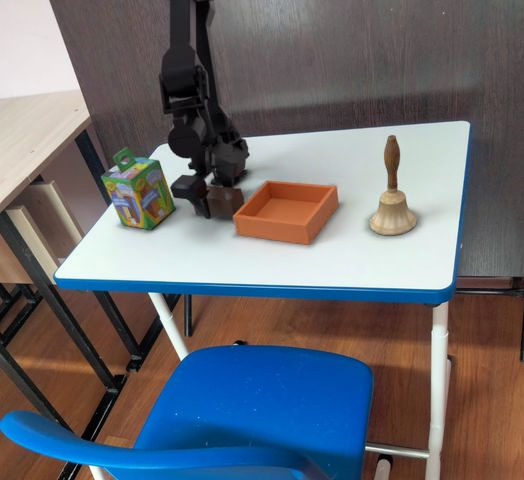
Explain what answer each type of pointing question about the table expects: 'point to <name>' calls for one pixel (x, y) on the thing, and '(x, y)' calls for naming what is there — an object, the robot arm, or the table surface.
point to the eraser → (223, 201)
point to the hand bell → (392, 198)
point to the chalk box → (138, 190)
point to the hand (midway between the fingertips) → (219, 207)
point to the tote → (287, 211)
